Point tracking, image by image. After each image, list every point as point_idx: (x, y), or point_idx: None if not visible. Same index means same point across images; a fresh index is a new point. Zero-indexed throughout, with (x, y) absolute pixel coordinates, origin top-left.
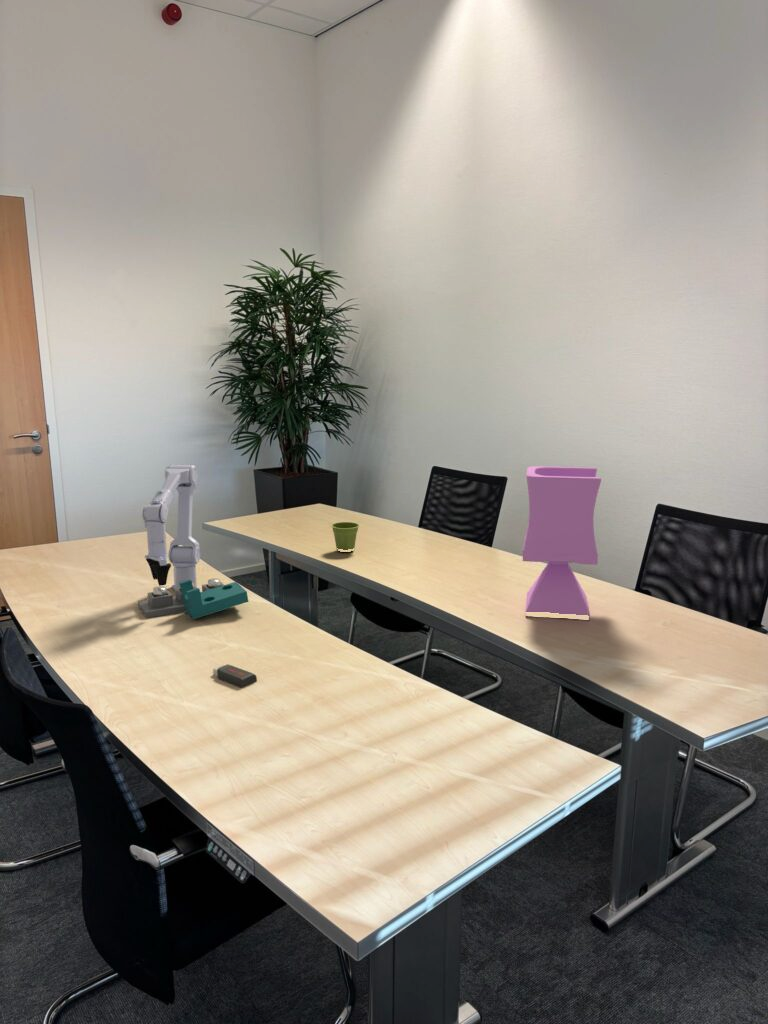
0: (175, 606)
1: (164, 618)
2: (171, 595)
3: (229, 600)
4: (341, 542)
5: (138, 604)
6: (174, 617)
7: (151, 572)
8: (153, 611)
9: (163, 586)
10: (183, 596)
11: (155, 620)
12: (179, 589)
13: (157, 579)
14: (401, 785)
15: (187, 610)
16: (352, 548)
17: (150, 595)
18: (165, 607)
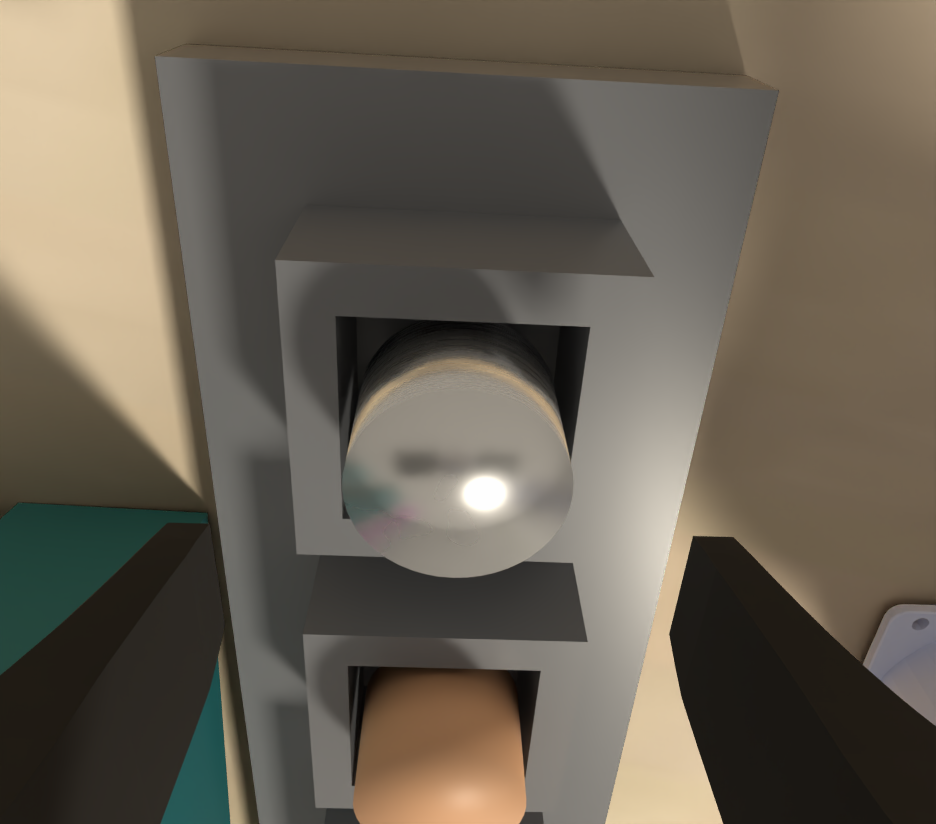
0: (243, 472)
1: (84, 264)
2: (297, 540)
3: None
4: None
5: (732, 81)
6: (82, 372)
7: (817, 630)
8: (173, 181)
9: (520, 560)
10: (16, 648)
11: (36, 139)
12: (540, 671)
13: (132, 602)
14: None
15: (51, 538)
16: None
17: (463, 283)
18: (257, 365)
